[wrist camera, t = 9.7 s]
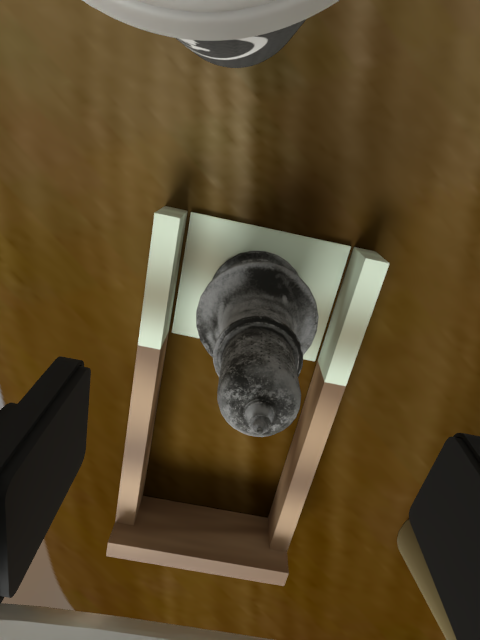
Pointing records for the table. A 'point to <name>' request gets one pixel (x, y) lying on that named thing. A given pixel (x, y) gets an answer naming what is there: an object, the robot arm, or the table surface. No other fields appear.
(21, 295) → the table surface
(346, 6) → the table surface
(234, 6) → the coffee cup
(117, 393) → the table surface
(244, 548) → the bay
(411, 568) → the cork
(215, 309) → the grey chess piece
